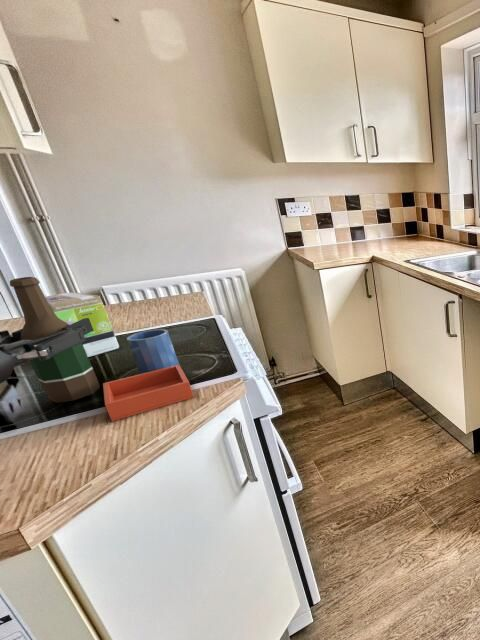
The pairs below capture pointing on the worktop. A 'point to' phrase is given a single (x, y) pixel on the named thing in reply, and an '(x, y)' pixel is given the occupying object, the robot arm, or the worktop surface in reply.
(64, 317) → the tea box
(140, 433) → the worktop surface
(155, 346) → the blue cup
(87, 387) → the beer bottle
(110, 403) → the red tray
